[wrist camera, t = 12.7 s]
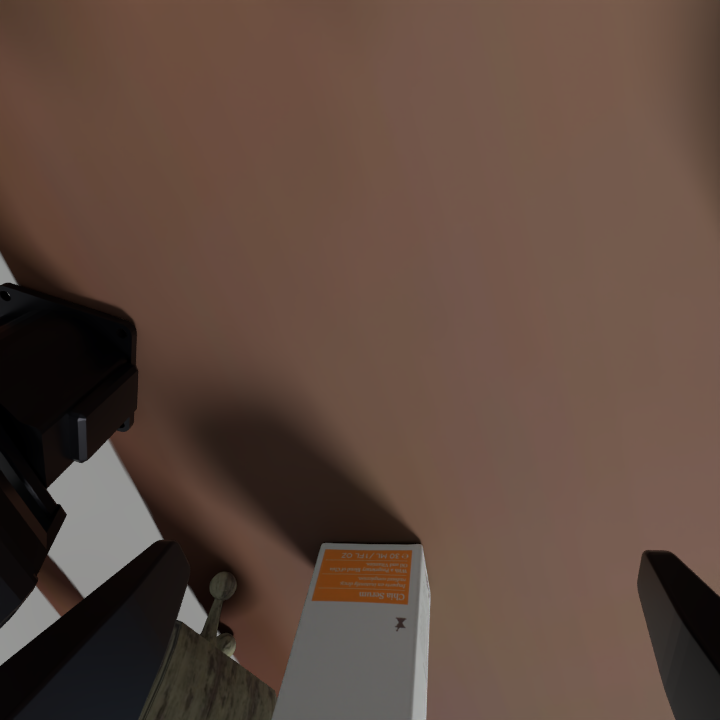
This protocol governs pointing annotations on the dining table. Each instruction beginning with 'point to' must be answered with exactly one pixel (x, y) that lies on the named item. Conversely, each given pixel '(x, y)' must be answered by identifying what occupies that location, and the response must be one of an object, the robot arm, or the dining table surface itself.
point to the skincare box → (361, 637)
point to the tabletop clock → (207, 673)
